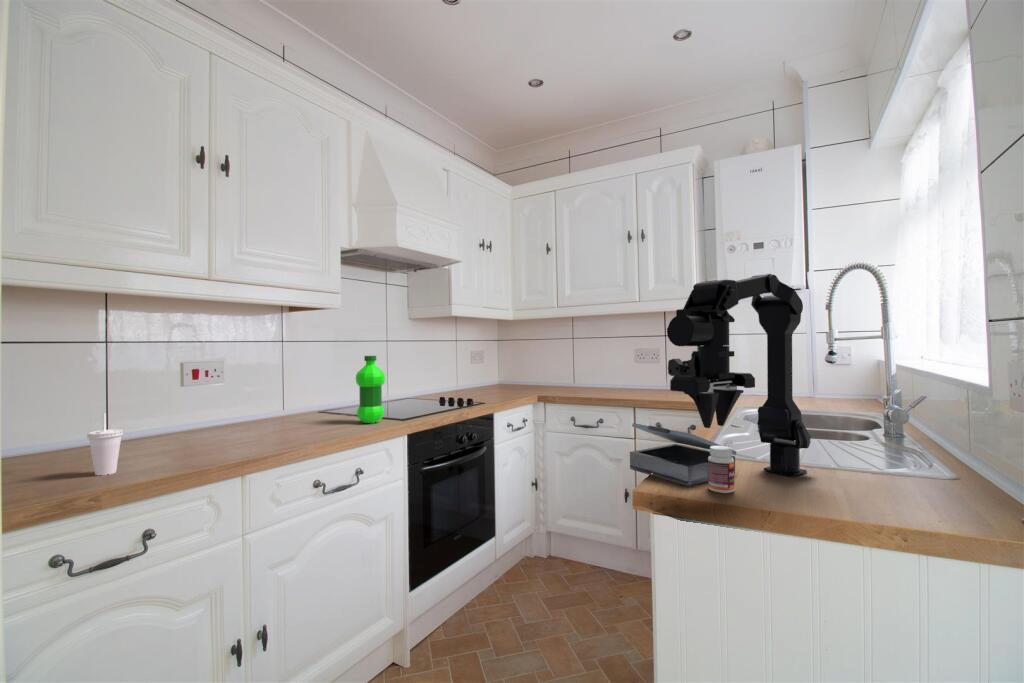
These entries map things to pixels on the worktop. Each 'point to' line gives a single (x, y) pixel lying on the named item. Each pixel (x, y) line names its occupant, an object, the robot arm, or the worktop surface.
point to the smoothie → (105, 449)
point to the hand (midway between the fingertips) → (713, 426)
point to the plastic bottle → (370, 391)
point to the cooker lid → (678, 436)
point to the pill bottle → (721, 469)
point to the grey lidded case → (673, 463)
